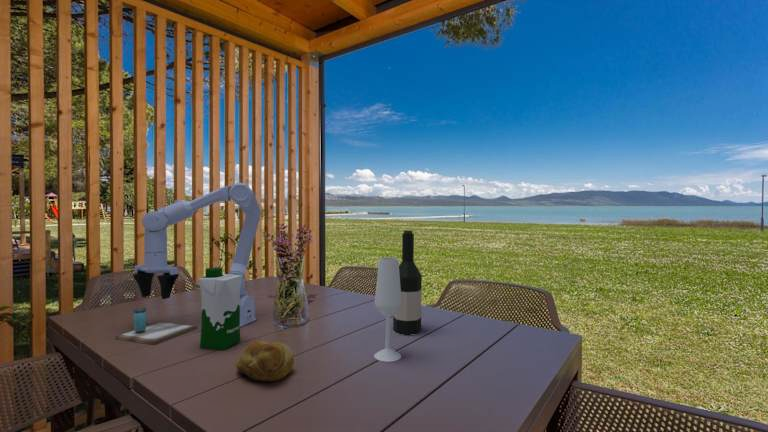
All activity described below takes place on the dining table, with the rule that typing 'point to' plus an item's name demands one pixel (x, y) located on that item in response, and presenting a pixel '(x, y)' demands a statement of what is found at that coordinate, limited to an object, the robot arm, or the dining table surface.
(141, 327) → the marker
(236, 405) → the dining table surface
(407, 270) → the wine bottle
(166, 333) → the writing board
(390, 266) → the champagne flute
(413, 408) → the dining table surface
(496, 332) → the dining table surface
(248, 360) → the bread roll
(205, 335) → the milk carton
